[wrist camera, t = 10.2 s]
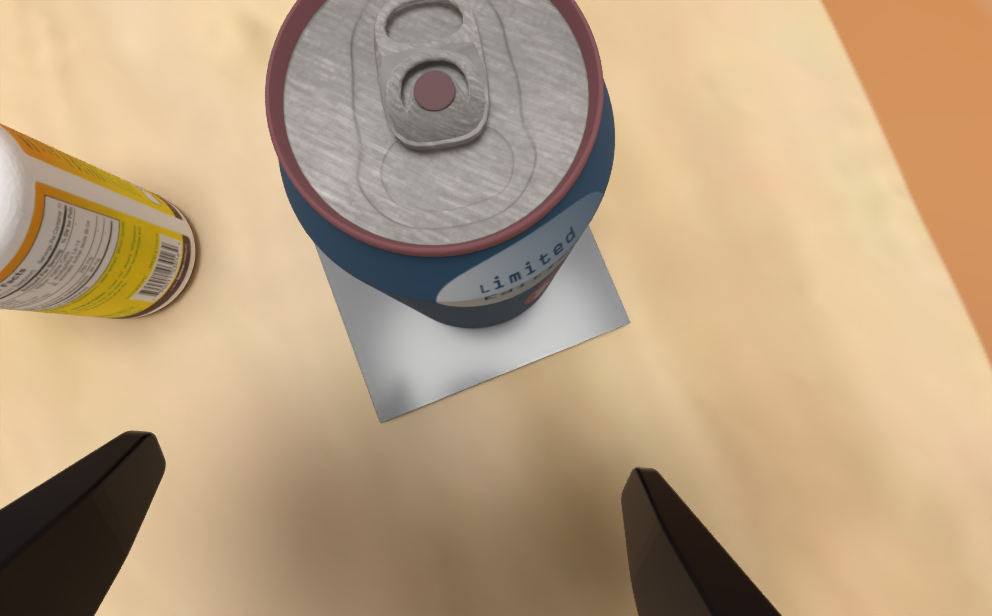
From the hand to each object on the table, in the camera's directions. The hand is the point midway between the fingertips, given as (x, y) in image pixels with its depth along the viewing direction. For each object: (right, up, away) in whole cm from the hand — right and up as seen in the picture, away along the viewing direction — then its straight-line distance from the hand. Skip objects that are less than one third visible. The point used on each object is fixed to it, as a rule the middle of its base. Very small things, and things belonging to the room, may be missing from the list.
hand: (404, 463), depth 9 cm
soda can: (+1, +5, +11) cm, 12 cm away
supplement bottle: (-14, +5, +12) cm, 19 cm away
